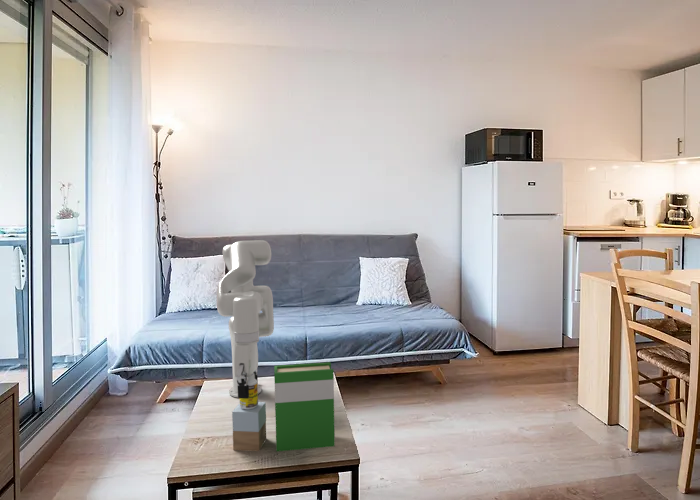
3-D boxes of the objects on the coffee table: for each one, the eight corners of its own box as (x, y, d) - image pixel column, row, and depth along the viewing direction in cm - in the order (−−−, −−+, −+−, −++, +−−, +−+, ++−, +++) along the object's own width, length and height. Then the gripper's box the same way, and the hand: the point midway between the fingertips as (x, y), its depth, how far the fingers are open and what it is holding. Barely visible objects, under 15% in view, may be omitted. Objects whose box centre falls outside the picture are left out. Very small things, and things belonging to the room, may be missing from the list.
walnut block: (241, 437, 155) (241, 419, 154) (266, 438, 154) (265, 420, 153) (233, 450, 147) (232, 431, 146) (259, 451, 146) (258, 432, 145)
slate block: (241, 419, 154) (241, 401, 154) (266, 420, 153) (265, 402, 153) (232, 431, 146) (232, 411, 146) (258, 431, 145) (258, 412, 145)
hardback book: (331, 435, 156) (330, 362, 154) (334, 446, 148) (333, 369, 146) (276, 440, 153) (274, 365, 151) (276, 451, 145) (274, 373, 144)
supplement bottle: (247, 411, 146) (246, 378, 145) (236, 407, 149) (234, 374, 148) (261, 406, 150) (260, 373, 149) (250, 401, 153) (249, 370, 153)
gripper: (243, 329, 156) (245, 382, 158) (224, 344, 139) (226, 403, 141) (266, 329, 156) (267, 382, 157) (249, 344, 138) (251, 404, 140)
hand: (248, 392), depth 149 cm, fingers open, 8 cm apart
